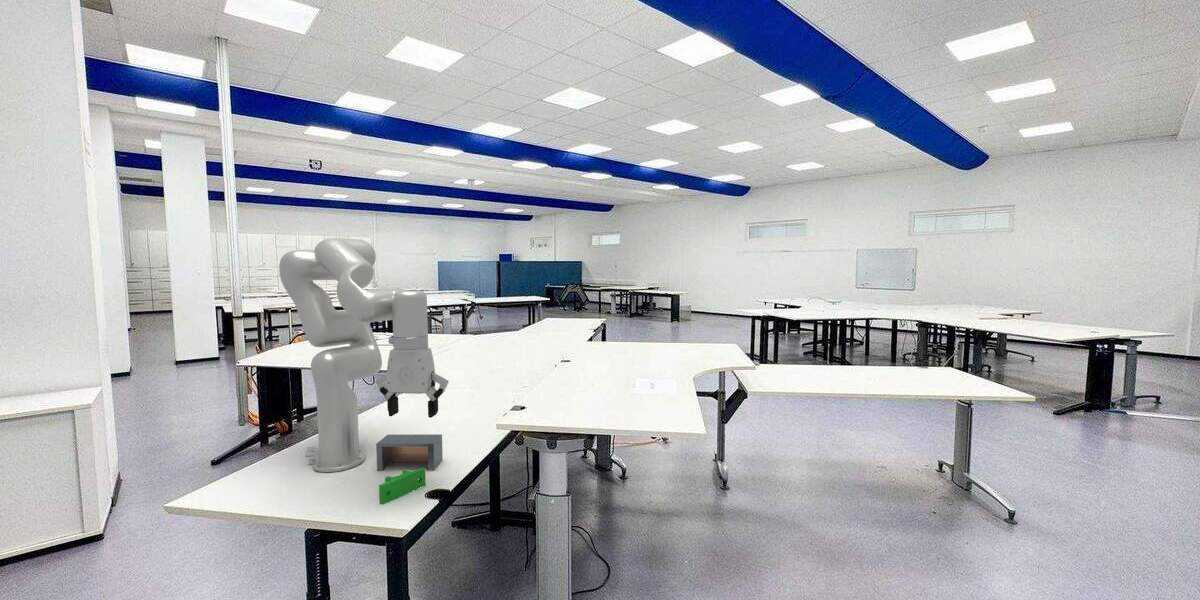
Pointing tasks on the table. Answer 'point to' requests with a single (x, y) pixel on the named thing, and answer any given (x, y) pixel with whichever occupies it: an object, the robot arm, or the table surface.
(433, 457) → the grey sleeve
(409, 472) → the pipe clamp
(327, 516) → the table surface
